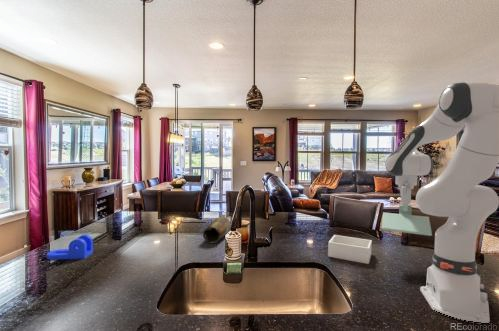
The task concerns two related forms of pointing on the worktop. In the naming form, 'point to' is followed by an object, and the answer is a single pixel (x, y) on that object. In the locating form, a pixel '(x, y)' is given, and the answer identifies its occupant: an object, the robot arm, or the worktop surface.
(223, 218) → the decorative bottle
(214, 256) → the worktop surface
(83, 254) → the bracket
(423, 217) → the lid
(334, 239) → the tub
